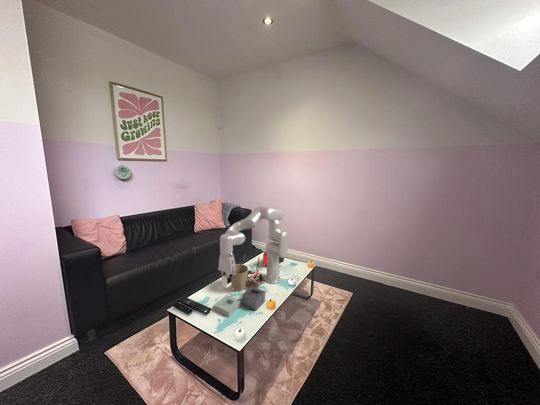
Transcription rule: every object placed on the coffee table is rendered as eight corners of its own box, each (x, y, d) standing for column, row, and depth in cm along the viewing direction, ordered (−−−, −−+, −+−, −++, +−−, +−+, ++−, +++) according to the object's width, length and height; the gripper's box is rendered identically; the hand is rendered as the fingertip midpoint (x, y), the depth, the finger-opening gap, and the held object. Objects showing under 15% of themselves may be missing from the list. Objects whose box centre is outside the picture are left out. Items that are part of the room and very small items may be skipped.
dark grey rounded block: (251, 296, 144) (251, 286, 143) (264, 301, 139) (265, 291, 138) (242, 305, 135) (241, 295, 134) (256, 311, 130) (256, 300, 128)
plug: (227, 283, 132) (226, 272, 131) (231, 284, 130) (231, 274, 129) (222, 286, 128) (222, 276, 127) (226, 288, 127) (226, 277, 125)
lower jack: (226, 299, 140) (226, 294, 140) (240, 305, 135) (240, 300, 134) (214, 310, 130) (213, 305, 130) (228, 317, 124) (228, 311, 124)
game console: (281, 257, 205) (281, 244, 202) (286, 259, 201) (286, 245, 198) (261, 267, 185) (261, 252, 182) (266, 270, 180) (267, 254, 178)
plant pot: (242, 280, 163) (242, 262, 160) (252, 290, 151) (252, 270, 149) (224, 287, 155) (224, 267, 152) (233, 297, 143) (233, 276, 140)
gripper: (241, 255, 125) (241, 282, 128) (220, 249, 133) (220, 275, 136) (233, 259, 119) (233, 288, 122) (212, 253, 126) (212, 280, 130)
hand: (226, 281), depth 129 cm, fingers closed on plug, 3 cm apart
